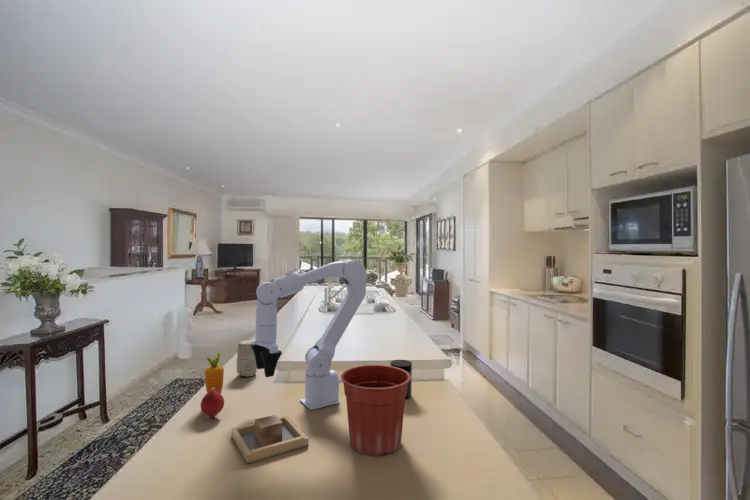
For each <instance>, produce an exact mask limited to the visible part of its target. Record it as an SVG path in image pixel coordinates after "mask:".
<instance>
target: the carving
mask: <svg viewBox="0 0 750 500" xmlns="http://www.w3.org/2000/svg"><path fill="white" fill-rule="evenodd" d="M251 341H254V339H253V340H252V339H247V340H242V341H239V343H238V345H237V351H236V354H237V355H236V356H237V357H236V374H237V375H238V376H241V377H253V376H256V374H257V372H258V371H257V370H258V369H257V365H256V360H255V355H254V352H253V350H252V348H251Z"/></svg>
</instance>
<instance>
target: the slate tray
mask: <svg viewBox="0 0 750 500" xmlns="http://www.w3.org/2000/svg"><path fill="white" fill-rule="evenodd" d="M277 417H278V416H277ZM278 418H279V419H280V420H281V422H282V442H278V443H275V444H271V445H268V446H264V447H260V445H259V444H258V442H257V441H256V439H255V422H254V423H251V424H246V425H241V426H238V427H233V428H231V438H232V439H233V442H234V444H235V445H236V448H237V449H238V450H239V453H240V454H241V455H242V457H243V459H244V460H245V463H246V464H247V465H248V464H252V463H255V462H258V461H262V460H265V459H268V458H272V457H275V456H279V455H282V454H285V453H288V452H292V451H296V450H299V449H302V448H306V447H308V446H309V437H308V436H307V435H306V433H305V432H304V431H302V429H301V428H300V427H298V425H297V424H296V423H295V422H294V421H293V420H292V419H291V418H290V417H289V415H287V414H286V415H282V416H279V417H278Z"/></svg>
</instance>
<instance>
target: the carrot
mask: <svg viewBox="0 0 750 500" xmlns="http://www.w3.org/2000/svg"><path fill="white" fill-rule="evenodd" d="M220 356H221V353H220V352H217V354H216V356H215V358H214V359H212V358H211V357H210V356H207V357H206V360H207V361H208V363H209V364H210V365H209V366H208V367H207V368H206V369H205V371H204V377H205V379H204V380H205V390H206V394H207V393H208V392H210V390H211V389H212V388H216V390H215V391H217V392H219V393H220V394H221V395H222V391H223V385H224V376H225V374H224V371H225V369H224V367H223V366H221V365H218V363H219V361H220Z"/></svg>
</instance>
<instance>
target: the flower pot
mask: <svg viewBox="0 0 750 500" xmlns="http://www.w3.org/2000/svg"><path fill="white" fill-rule="evenodd" d="M340 378H341V379H340V380H341V381H342V384H343V392H344V396H345V398H346V399H345V400H346V410H347V421H348V422H347V423H348V435H349V444H350V445H351V446H352V448H353V450H354V451H356V452H358V453H360V454H363V455H367V456H383V454H385V453H387V454H388V453H389V454H392V453H394V452H395V451H397V450H398V449H399V448H400V446H401V444H402V434H403V425H404V424H403V423H404V414H405V403H406V400H405V397H406V395H407V388H408V382H409V381H410V378H411V376H410V374H409V373H408V372H407V371H405V370H403V369H400V368H397V367H392V366H390V365H383V364H367V365H360V366H354V367H351V368H348V369H346V370H345V371H343V372H342V373H341V374H340Z"/></svg>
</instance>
